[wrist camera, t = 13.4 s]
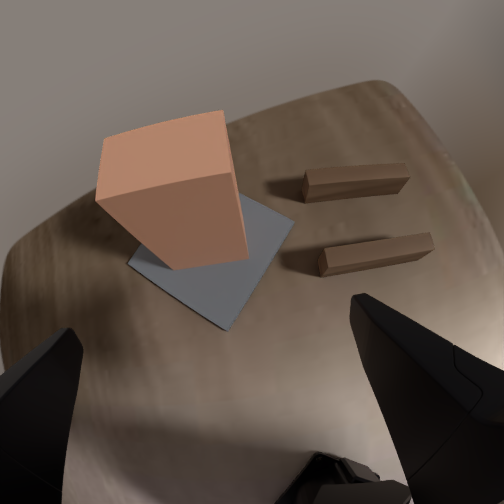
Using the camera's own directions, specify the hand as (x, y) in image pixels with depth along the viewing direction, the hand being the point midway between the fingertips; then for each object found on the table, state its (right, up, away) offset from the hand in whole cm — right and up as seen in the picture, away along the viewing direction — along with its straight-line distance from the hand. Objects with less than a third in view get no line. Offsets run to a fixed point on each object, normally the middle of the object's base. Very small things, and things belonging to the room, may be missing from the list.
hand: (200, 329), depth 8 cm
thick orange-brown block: (-2, +3, +15) cm, 15 cm away
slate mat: (-2, +3, +15) cm, 16 cm away
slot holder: (+11, +5, +15) cm, 19 cm away
